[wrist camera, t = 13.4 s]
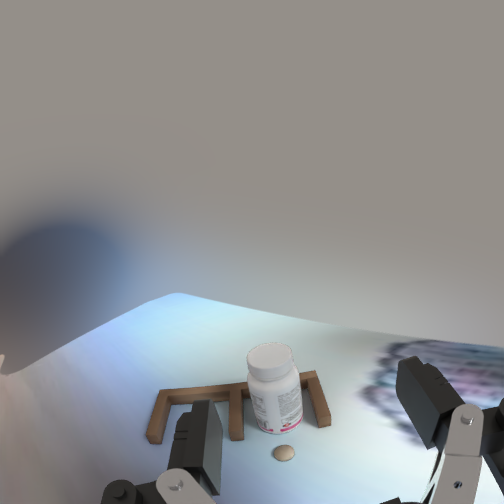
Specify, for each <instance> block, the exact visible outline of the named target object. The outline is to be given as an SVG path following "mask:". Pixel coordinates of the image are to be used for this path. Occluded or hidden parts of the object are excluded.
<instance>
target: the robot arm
mask: <svg viewBox="0 0 504 504" xmlns="http://www.w3.org/2000/svg"><path fill="white" fill-rule="evenodd" d="M396 393H397V397H398V399H399V401H400V402H401V404H402V406H403V407H404V409H405V411H406V413H407V414H408V416H409V418H410V420H411V421H412V423H413V425H414V427H415V428H416V430H417V432H418V434H419V435H420V437H421V439H422V441H423V443H424V444H425V446H426V448H427V450H428V449H430V448H433V447H435V446H436V447H437V449H438V452H437V455H436V458H435V462H434V465H433V469H432V472H431V475H430V478H429V481H428V484H427V487H426V490H425V492H424V494H423V497H422V499H421V501H420V503H418V502H402V503H401V501H400V499H399V497H398V498H395V499H392V500H389V501H386V502H383V503H380V504H473V503H474V499H475V495H476V491H477V486H478V481H479V476H480V471H481V465H482V456H483V458H484V459H485V461H486V463H487V465H488V467H489V468H490V470H491V472H492V474H493V476H494V478H495V480H496V482H497V483H498V485H499V487H500V489H501V491H502V493H503V495H504V398H503V399H502V400H501V402H500V404H499V406H498V407H493V408H489V409H483V410H481V409H480V408H479V407H477V406H476V405H473V404H465V402H464V401H463V400H462V399H461V397H460V396H459V395H458V393H457V392H456V391H455V390H454V388H453V387H452V386H451V385H450V383H448V381H447V380H446V378H445V377H443V375H442V374H441V372H440V371H439V370H438V369H437V368H436V367H434V366H432V365H431V364H429V363H427V364H424V365H423V363H422V362H421V361H420V360H419V358H418V357H417V356H413V357H410V358H406V359H403V360H400V361H399V363H398V371H397V380H396ZM222 439H223V431H222V424H221V421H220V418H219V416H218V413H217V410H216V408H215V405H214V402H213V400H212V399H202V400H194V401H193V405H192V411H191V412H186V413H183V414H182V416H181V417H180V418H179V420H178V421H177V424H176V429H175V434H174V441H173V444H172V449H171V454H170V459H169V464H168V468H167V471H165V472H163V473H162V474H161V475H160V476H159V477H158V479H157V480H156V481H154V482H150V483H146V484H141V485H136V486H134V485H133V484H132V483H131V482H129V481H127V480H116V481H113V482H111V483H110V484H109V485H107V487H106V488H105V490H104V493H103V497H102V501H101V504H216V502H215V501H214V500H213V499H212V496H214V495H220V482H221V459H222Z"/></svg>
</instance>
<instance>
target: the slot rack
mask: <svg viewBox="0 0 504 504" xmlns="http://www.w3.org/2000/svg"><path fill="white" fill-rule="evenodd" d="M299 378H300V386H301V390H302V389H307V388H308V392H309V395H310V398H311V402H312V405H313V409H314V412H315V416H316V419H317V423H318V426H319V428H322V427H326V426H331V414H330V411H329V408H328V405H327V402H326V400H325V397H324V394H323V391H322V388H321V385H320V382H319V379H318V377H317V374H316V371H315V370H314V371H309V372H304V373H299ZM245 398H251V396H250V392H249V387H248V382H241V383H233V384H225V385H215V386H205V387H194V388H180V389H164V390H160V391H159V394H158V397H157V400H156V403H155V406H154V409H153V413H152V416H151V419H150V422H149V425H148V429H147V432H146V437H147V438H148V440H149V442H150V443H151V444H162V439H163V435H164V431H165V427H166V423H167V419H168V415H169V412H170V408H171V405H177V404H193V401H194V400H202V399H212V400H213V402H218V401H228V400H230V401H229V435H230V438H231V441H239V440H244V422H243V399H245ZM274 455H275V458H276V459H277V460H279V461H288V460H290V459H292V458H293V456H294V449H293V448H292V447H291V446H289V445H281V446H279V447H277V448H276V449H275V451H274Z"/></svg>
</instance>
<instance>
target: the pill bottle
mask: <svg viewBox="0 0 504 504" xmlns="http://www.w3.org/2000/svg"><path fill="white" fill-rule="evenodd" d="M293 363H294V360H293V356H292V351H291V349H290V348H289V347H288V346H286V345H284V344H281V343H266V344H262V345H259V346H257V347H255V348H254V349H252V350H251V351H250V352H249V353H248V355H247V364H248V369H249V373H248V376H247V382H248V387H249V392H250V396H251V400H252V404H253V408H254V412H255V417H256V421H257V423H258V425H259V427H260V428H261V429H262V430H264V431H266V432H268V433H273V434H282V433H287V432H290V431H292V430H294V429H295V428H296V427H298V425H299V424H300V423H301V421H302V419H303V406H302V396H301V386H300V378H299V372H298V369H297V367H296V366H295V365H294V364H293Z"/></svg>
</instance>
